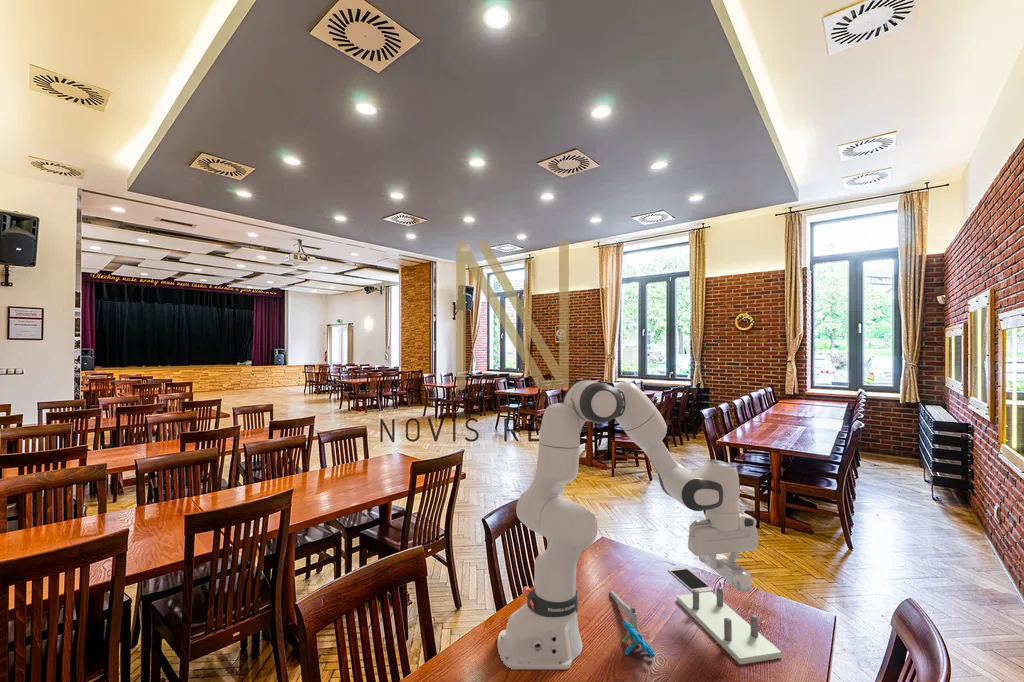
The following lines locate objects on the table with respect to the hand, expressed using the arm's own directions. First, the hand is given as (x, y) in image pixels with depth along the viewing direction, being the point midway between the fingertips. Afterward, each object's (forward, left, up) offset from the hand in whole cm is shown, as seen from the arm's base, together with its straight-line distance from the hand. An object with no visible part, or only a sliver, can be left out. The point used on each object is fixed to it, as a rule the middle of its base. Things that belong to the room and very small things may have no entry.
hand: (723, 567), depth 123 cm
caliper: (-25, +12, -17) cm, 33 cm away
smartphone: (+5, +24, -17) cm, 30 cm away
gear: (-29, -5, -17) cm, 34 cm away
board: (0, 0, -17) cm, 17 cm away
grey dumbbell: (0, 0, -2) cm, 2 cm away
